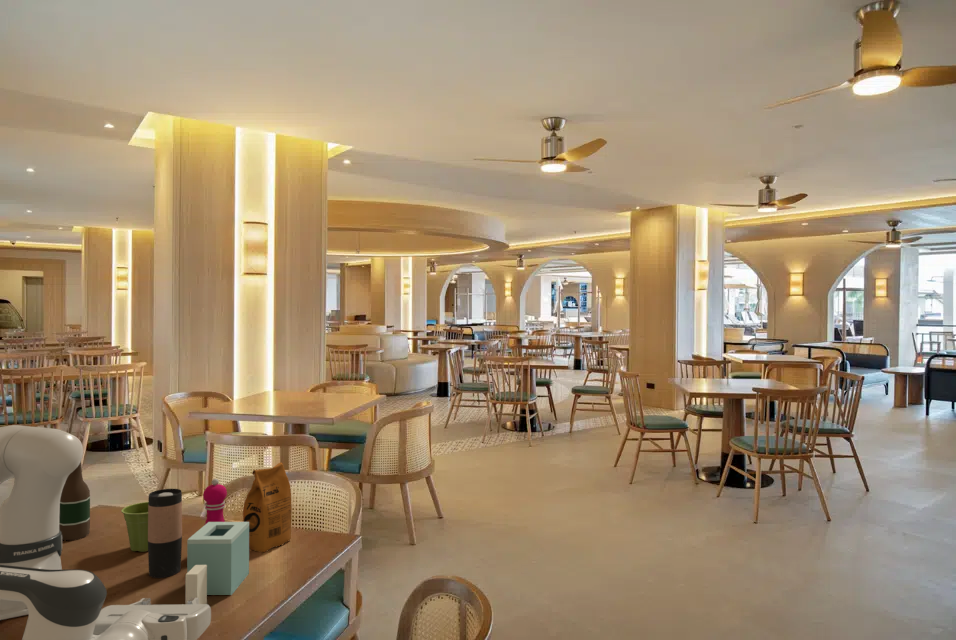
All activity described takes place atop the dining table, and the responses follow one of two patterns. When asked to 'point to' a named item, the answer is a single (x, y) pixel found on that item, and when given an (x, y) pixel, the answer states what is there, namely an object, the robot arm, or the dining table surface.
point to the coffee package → (268, 509)
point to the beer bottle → (75, 507)
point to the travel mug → (164, 532)
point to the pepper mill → (215, 501)
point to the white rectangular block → (197, 584)
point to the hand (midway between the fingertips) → (171, 601)
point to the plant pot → (137, 525)
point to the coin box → (221, 555)
